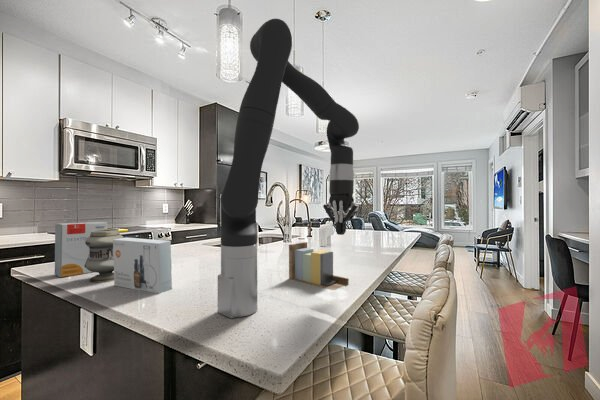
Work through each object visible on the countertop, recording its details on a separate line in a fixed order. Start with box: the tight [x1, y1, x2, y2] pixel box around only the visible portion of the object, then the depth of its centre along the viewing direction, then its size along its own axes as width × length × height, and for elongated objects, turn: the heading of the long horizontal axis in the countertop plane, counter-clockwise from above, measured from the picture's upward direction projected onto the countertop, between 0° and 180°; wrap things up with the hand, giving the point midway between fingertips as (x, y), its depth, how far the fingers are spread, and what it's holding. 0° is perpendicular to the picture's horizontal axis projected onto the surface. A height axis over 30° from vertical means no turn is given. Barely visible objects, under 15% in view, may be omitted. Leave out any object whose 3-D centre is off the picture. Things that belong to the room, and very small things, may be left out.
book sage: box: [303, 252, 311, 282], centre depth 97 cm, size 6×4×9 cm, turn 137°
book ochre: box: [311, 249, 331, 285], centre depth 95 cm, size 6×4×10 cm
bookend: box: [320, 251, 337, 287], centre depth 92 cm, size 6×3×10 cm, turn 137°
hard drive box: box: [54, 221, 108, 278], centre depth 114 cm, size 16×8×20 cm, turn 143°
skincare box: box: [113, 236, 173, 294], centre depth 93 cm, size 21×6×16 cm, turn 68°
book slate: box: [295, 247, 314, 280], centre depth 100 cm, size 6×4×10 cm
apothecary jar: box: [85, 228, 125, 283], centre depth 104 cm, size 12×12×18 cm
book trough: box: [288, 241, 350, 291], centre depth 96 cm, size 8×19×13 cm, turn 47°
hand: (340, 234), depth 89 cm, fingers closed
